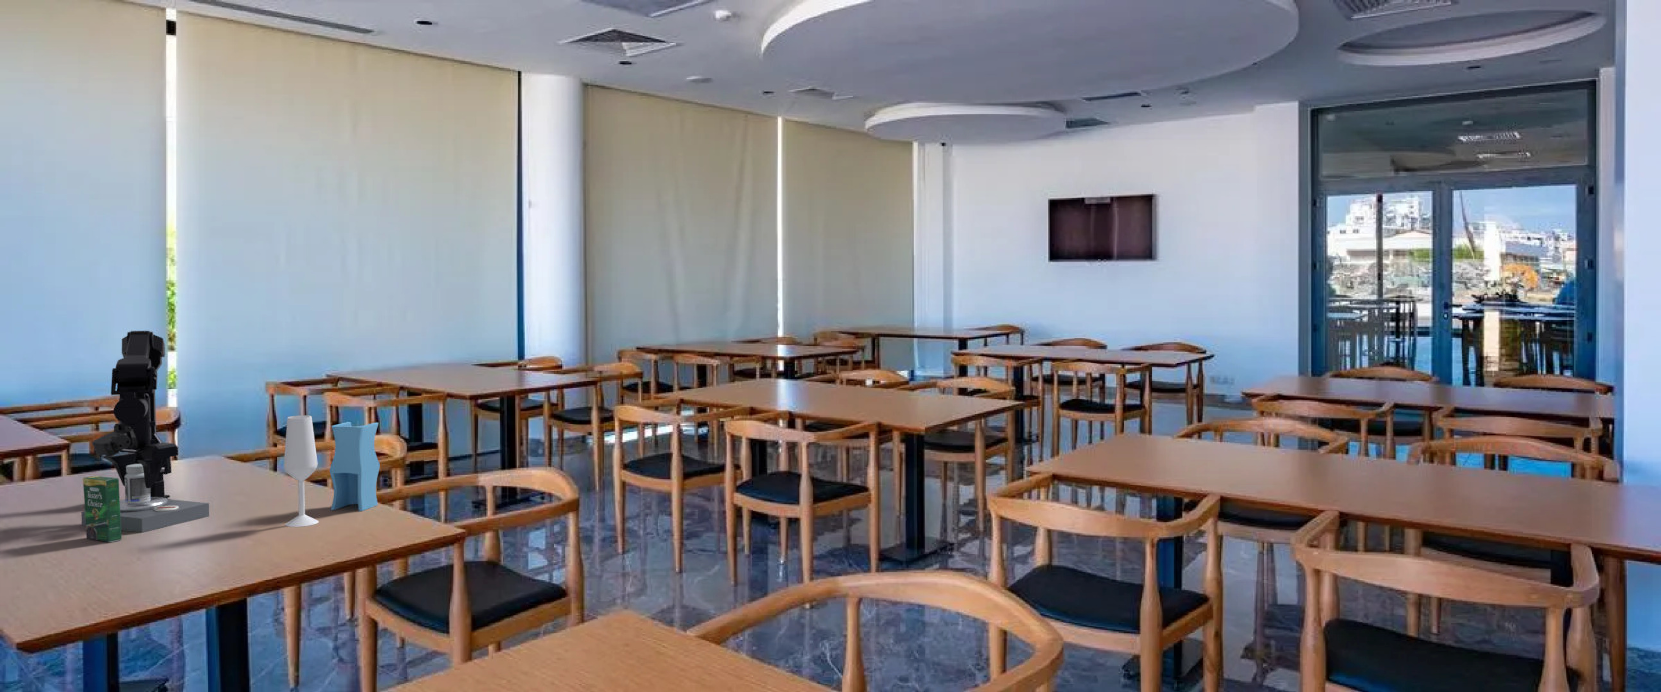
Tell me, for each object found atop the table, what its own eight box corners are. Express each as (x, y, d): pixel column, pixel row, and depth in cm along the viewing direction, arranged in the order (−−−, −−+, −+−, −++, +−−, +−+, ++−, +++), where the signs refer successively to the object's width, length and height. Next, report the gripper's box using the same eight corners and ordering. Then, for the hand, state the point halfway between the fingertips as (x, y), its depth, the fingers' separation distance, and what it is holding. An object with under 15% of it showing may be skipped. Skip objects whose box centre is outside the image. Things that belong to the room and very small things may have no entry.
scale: (81, 525, 220) (81, 509, 220) (151, 509, 235) (150, 494, 235) (142, 532, 214) (141, 515, 214) (209, 515, 230) (208, 500, 229)
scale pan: (96, 509, 222) (95, 505, 222) (143, 499, 232) (143, 495, 232) (132, 513, 218) (132, 509, 218) (179, 503, 229) (179, 498, 229)
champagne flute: (307, 518, 229) (305, 414, 227) (325, 522, 225) (322, 416, 224) (278, 524, 223) (276, 417, 221) (296, 528, 219) (293, 419, 218)
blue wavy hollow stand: (380, 503, 244) (378, 422, 243) (362, 511, 236) (360, 427, 235) (349, 502, 245) (348, 421, 243) (330, 509, 237) (328, 426, 236)
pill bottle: (155, 500, 227) (154, 463, 227) (139, 504, 223) (138, 467, 222) (136, 499, 228) (135, 463, 227) (119, 503, 223) (118, 466, 223)
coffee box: (84, 538, 209) (81, 476, 208) (98, 535, 212) (96, 474, 211) (107, 543, 206) (105, 480, 205) (122, 539, 208) (120, 477, 207)
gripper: (68, 420, 219) (71, 490, 220) (130, 425, 214) (133, 497, 215) (118, 414, 230) (120, 481, 231) (179, 418, 224) (181, 487, 225)
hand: (137, 486), depth 225 cm, fingers open, 7 cm apart
